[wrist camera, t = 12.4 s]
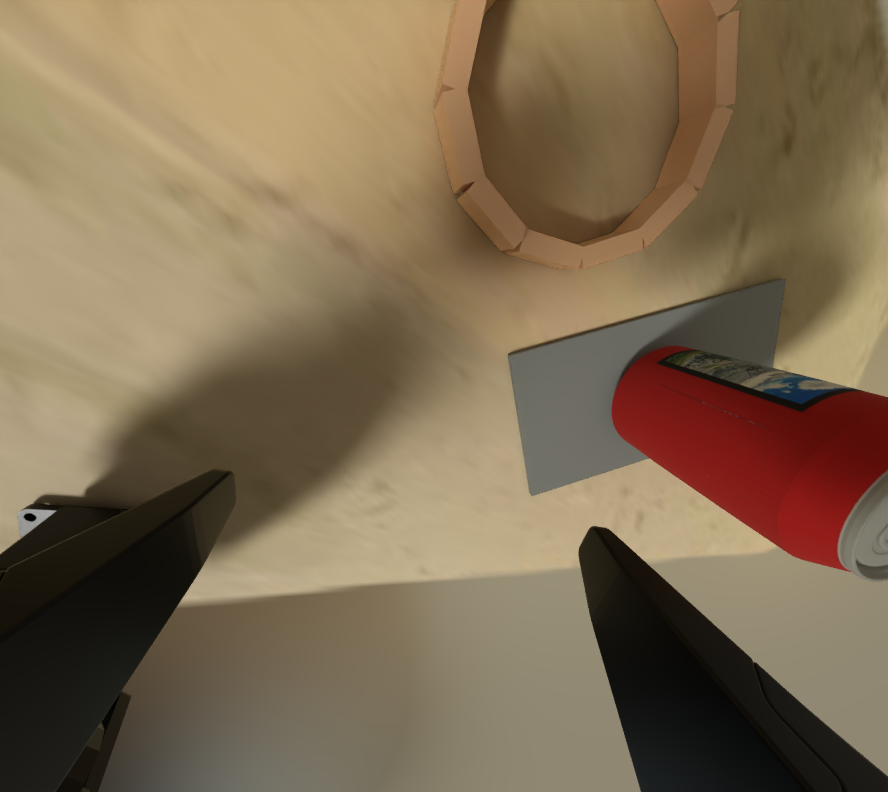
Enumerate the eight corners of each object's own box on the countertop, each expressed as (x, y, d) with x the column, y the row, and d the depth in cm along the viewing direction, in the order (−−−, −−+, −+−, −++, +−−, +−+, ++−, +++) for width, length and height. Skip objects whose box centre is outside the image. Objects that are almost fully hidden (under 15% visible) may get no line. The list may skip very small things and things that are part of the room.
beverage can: (716, 377, 23) (1040, 480, 12) (647, 457, 24) (881, 618, 13) (654, 320, 20) (986, 381, 9) (582, 411, 22) (798, 560, 11)
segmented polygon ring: (632, 290, 20) (658, 292, 18) (410, 226, 17) (415, 221, 15) (743, 4, 16) (791, -30, 14) (482, -154, 13) (501, -225, 11)
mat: (529, 493, 24) (531, 496, 23) (507, 354, 20) (509, 356, 19) (759, 419, 25) (764, 421, 25) (780, 278, 21) (785, 278, 21)
